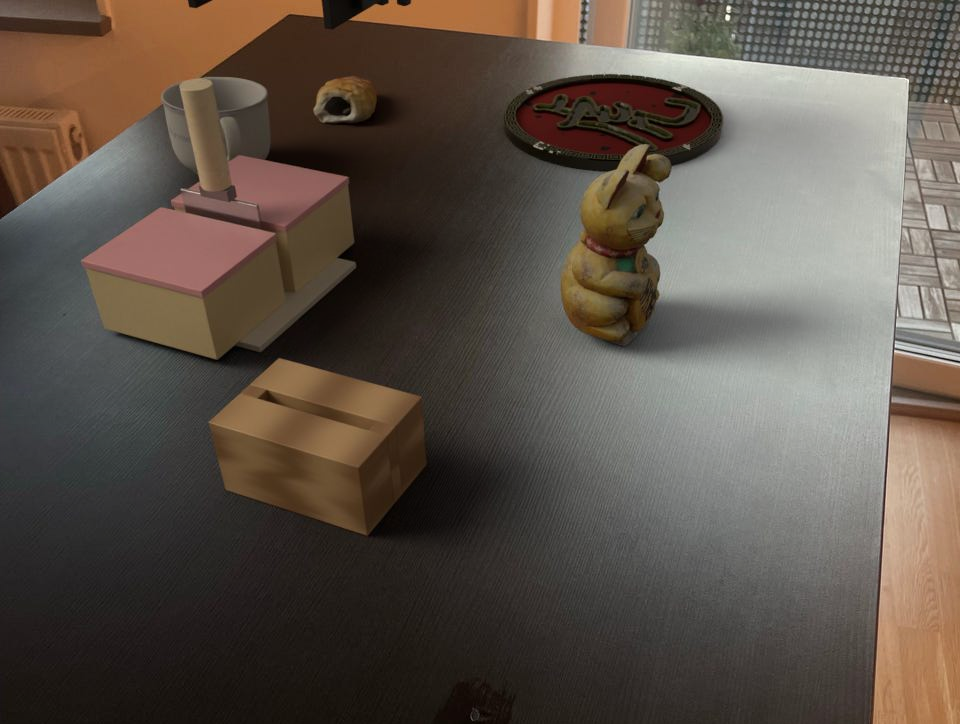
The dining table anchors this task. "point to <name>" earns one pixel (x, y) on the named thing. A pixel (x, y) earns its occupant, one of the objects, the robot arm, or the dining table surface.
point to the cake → (228, 263)
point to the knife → (212, 161)
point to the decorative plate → (611, 120)
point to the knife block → (321, 444)
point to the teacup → (224, 119)
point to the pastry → (346, 100)
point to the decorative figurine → (617, 250)
